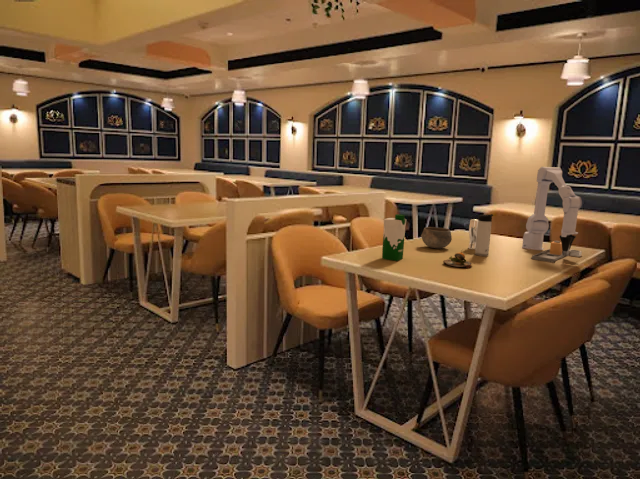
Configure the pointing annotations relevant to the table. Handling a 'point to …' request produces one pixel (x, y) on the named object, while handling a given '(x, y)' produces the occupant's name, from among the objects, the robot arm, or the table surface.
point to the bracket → (575, 253)
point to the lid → (545, 257)
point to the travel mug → (483, 235)
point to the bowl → (436, 237)
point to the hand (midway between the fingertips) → (565, 250)
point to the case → (550, 254)
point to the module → (556, 248)
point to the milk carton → (393, 238)
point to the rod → (566, 252)
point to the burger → (458, 261)
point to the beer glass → (473, 233)
